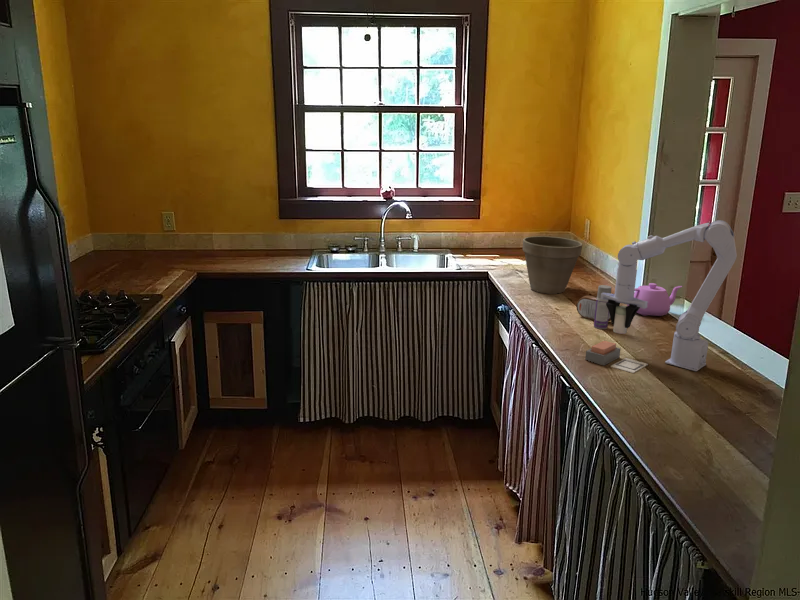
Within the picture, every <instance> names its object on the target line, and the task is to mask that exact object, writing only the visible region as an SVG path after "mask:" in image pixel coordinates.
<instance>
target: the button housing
mask: <svg viewBox="0 0 800 600" xmlns="http://www.w3.org/2000/svg"><path fill="white" fill-rule="evenodd" d="M620 356H621V348H620V347H618V346H616V349H615V350H613V351H611V352H609V353H607V354H605V355H602V354H598V353H595V352H591V348H589V349H587V350H586V351H585V357H584V358H585V359H584V360H585V361H586V360H588V361H587V362H590V361H591V362H590V363H593V362H594V363H593V364H597V365H601V366H606V365H608V364H610V363H611V362H613V361H615V360H617V359H619V358H620Z"/></svg>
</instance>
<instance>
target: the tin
mask: <svg viewBox="0 0 800 600" xmlns="http://www.w3.org/2000/svg"><path fill="white" fill-rule="evenodd" d="M596 301H597V296H593V295H584V296H581V298H579V299H578V300H577V302H576V311H577V313H578V315H579V316H581V317H582V318H583V319H584V318H585V319H588V320H592V321H594V319H595V310H596ZM609 322H611V318H610V313H609V318H608V323H609Z"/></svg>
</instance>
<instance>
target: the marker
mask: <svg viewBox="0 0 800 600" xmlns="http://www.w3.org/2000/svg"><path fill="white" fill-rule="evenodd" d="M626 307H627V305H620V306H616V311H615V320H614V325H613V330H612V331H613V333H615V334H620V335H623V334H627V333H628V332H627V331H628V328H625V321H626V309H625V308H626Z"/></svg>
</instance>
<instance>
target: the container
mask: <svg viewBox="0 0 800 600" xmlns="http://www.w3.org/2000/svg"><path fill="white" fill-rule="evenodd" d="M612 288H613V287H612V286H611V285H606V284H601V285H598V288H597V295H596V297H597V301H596V310H595V319H594V320H593V328H595V329H596V330H597V329H599V330H607V329H608V324H609V322H608V318H609V310H608V308H607V306H606V303H607V302H608V300H605V299H604V300H602V299H600V298H601V293H610V294H612Z"/></svg>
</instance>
